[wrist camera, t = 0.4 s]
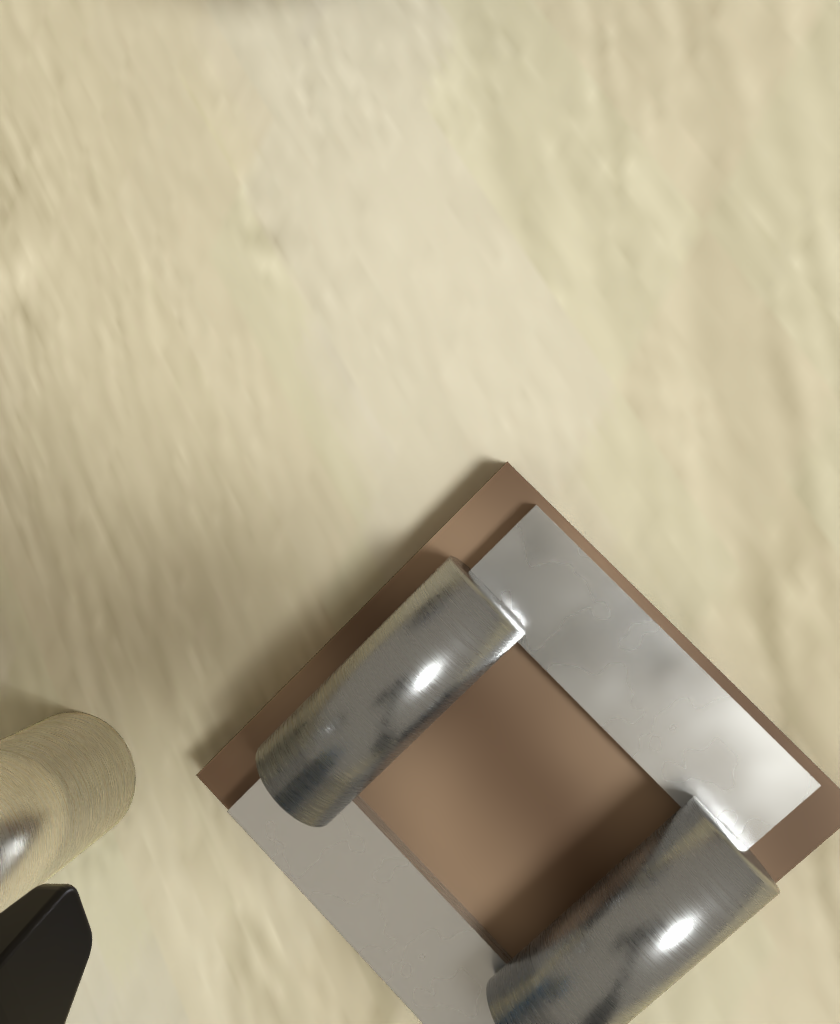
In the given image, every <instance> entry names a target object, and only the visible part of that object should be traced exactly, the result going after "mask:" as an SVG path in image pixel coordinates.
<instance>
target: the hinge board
mask: <svg viewBox="0 0 840 1024" xmlns="http://www.w3.org/2000/svg"><path fill="white" fill-rule="evenodd" d="M535 505H537V506H538V507H539V508H540V509H541V510H542V511H543V512H544V513H545V514H546V515H547V516H548V517H549V518H550V519H551V520H552V521H553V522H554V523H555V524H557V525H558V526H559V527H560V528H561V529H562V530H563V531H564V532H565V533H566V534H567V535H568V536H569V537H570V538H571V539H572V540H573V541H574V542H575V543H576V544H577V545H578V546H579V547H580V548H581V549H582V550H583V551H584V552H585V553H586V554H587V555H588V556H589V557H590V558H591V559H592V560H593V561H594V562H595V563H596V564H597V565H598V566H599V567H600V568H601V569H602V570H603V571H604V572H605V573H606V574H607V575H608V576H609V577H610V578H611V579H612V580H613V581H614V582H615V583H616V584H617V585H618V586H619V587H620V588H621V589H622V590H623V591H624V592H625V593H626V594H628V595H629V596H630V597H631V598H632V599H633V600H634V601H635V602H636V603H637V604H638V605H639V606H640V607H641V608H642V609H643V610H644V611H645V612H646V613H647V614H648V615H649V616H650V617H651V618H652V619H653V620H654V621H655V622H656V623H657V624H658V625H659V626H660V627H661V628H662V629H663V630H664V631H665V632H666V633H667V634H668V635H669V636H670V637H671V638H672V639H673V640H674V641H675V642H676V643H677V644H678V645H679V646H680V647H681V648H682V649H683V650H684V651H685V652H686V653H687V654H688V655H689V656H690V657H691V658H692V659H693V660H694V661H695V662H696V663H697V664H698V665H700V666H701V667H702V668H703V669H704V670H705V671H706V672H707V673H708V674H709V675H710V676H711V677H712V678H713V679H714V680H715V681H716V682H717V683H718V684H719V685H720V686H721V687H722V688H723V689H724V690H725V691H726V692H727V693H728V694H729V695H730V696H731V697H732V698H733V699H734V700H735V701H736V702H737V703H738V704H739V705H740V706H741V707H742V708H743V709H744V710H745V711H746V712H747V713H748V714H749V715H750V716H751V717H752V718H753V719H754V720H755V721H756V722H757V723H758V724H759V725H760V726H761V727H762V728H763V729H764V730H765V731H766V732H767V733H768V734H769V735H771V736H772V737H773V738H774V739H775V740H776V741H777V742H778V743H779V744H780V745H781V746H782V747H783V748H784V749H785V750H786V751H787V752H788V753H789V754H790V755H791V756H792V757H793V758H794V759H795V760H796V761H797V762H798V763H799V764H800V765H801V766H802V767H803V768H804V769H805V770H806V771H807V772H808V773H809V774H810V775H811V776H812V777H813V778H814V779H815V780H816V781H817V782H818V783H819V784H820V785H821V786H820V787H819V788H818V789H817V790H816V791H814V792H813V793H812V794H811V795H810V796H809V797H808V798H806V799H805V800H804V801H803V802H802V803H801V804H799V805H798V806H797V807H796V808H795V809H794V810H793V811H791V812H790V813H789V814H788V815H787V816H786V817H785V818H783V819H782V820H781V821H780V822H779V823H778V824H777V825H775V826H774V827H773V828H772V829H771V830H770V831H769V832H767V833H766V834H765V835H764V836H763V837H762V838H761V839H759V840H758V841H757V842H756V843H755V844H754V845H752V846H751V847H750V848H749V849H750V851H751V852H752V853H753V854H754V855H755V857H756V858H757V859H758V860H759V861H760V863H761V864H762V865H763V866H764V868H765V869H766V870H767V872H768V873H769V874H770V876H771V877H772V879H773V880H774V882H775V883H776V882H777V881H779V880H780V879H781V878H782V877H783V876H784V875H786V874H787V873H788V872H789V871H790V870H791V869H793V868H794V867H795V866H796V865H797V864H798V863H800V862H801V861H802V860H803V859H804V858H805V857H807V856H808V855H809V854H810V853H811V852H812V851H814V850H815V849H816V848H817V847H818V846H819V845H821V844H822V843H823V842H824V841H825V840H826V839H827V838H829V837H830V836H831V835H832V834H833V833H834V832H836V831H837V830H838V829H839V828H840V789H839V788H838V787H837V786H836V785H835V784H834V783H833V782H832V781H831V780H830V779H829V778H828V777H827V776H826V775H825V774H824V773H823V772H822V771H821V770H820V769H819V768H818V767H817V766H816V765H815V764H814V763H813V762H812V761H811V760H810V759H809V758H808V757H807V756H806V755H805V754H804V753H803V752H802V751H801V750H800V749H799V748H798V747H797V746H796V745H795V744H794V743H793V742H792V741H791V740H790V739H789V738H788V737H787V736H786V735H785V734H784V733H783V732H782V731H781V730H779V729H778V728H777V727H776V726H775V725H774V724H773V723H772V722H771V721H770V720H769V719H768V718H767V717H766V716H765V715H764V714H763V713H762V712H761V711H760V710H759V709H758V708H757V707H756V706H755V705H754V704H753V703H752V702H751V701H750V700H749V699H748V698H747V697H746V696H745V695H744V694H743V693H742V692H741V691H740V690H739V689H738V688H737V687H736V686H735V685H734V684H733V683H732V682H731V681H730V680H729V679H728V678H727V677H726V676H725V675H724V674H723V673H722V672H721V671H720V670H719V669H717V668H716V667H715V666H714V665H713V664H712V663H711V662H710V661H709V660H708V659H707V658H706V657H705V656H704V655H703V654H702V653H701V652H700V651H699V650H698V649H697V648H696V647H695V646H694V645H693V644H692V643H691V642H690V641H689V640H688V639H687V638H686V637H685V636H684V635H683V634H682V633H681V632H680V631H679V630H678V629H677V628H676V627H675V626H674V625H673V624H672V623H671V622H670V621H669V620H668V619H667V618H666V617H665V616H664V615H663V614H662V613H661V612H660V611H659V610H658V609H657V608H655V607H654V606H653V605H652V604H651V603H650V602H649V601H648V600H647V599H646V598H645V597H644V596H643V595H642V594H641V593H640V592H639V591H638V590H637V589H636V588H635V587H634V586H633V585H632V584H631V583H630V582H629V581H628V580H627V579H626V578H625V577H624V576H623V575H622V574H621V573H620V572H619V571H618V570H617V569H616V568H615V567H614V566H613V565H612V564H611V563H610V562H609V561H608V560H607V559H606V558H605V557H604V556H603V555H602V554H601V553H600V552H599V551H598V550H597V549H596V548H595V547H593V546H592V545H591V544H590V543H589V542H588V541H587V540H586V539H585V538H584V537H583V536H582V535H581V534H580V533H579V532H578V531H577V530H576V529H575V528H574V527H573V526H572V525H571V524H570V523H569V522H568V521H567V520H566V519H565V518H564V517H563V516H562V515H561V514H560V513H559V512H558V511H557V510H556V509H555V508H554V507H553V506H552V505H551V504H550V503H549V502H548V501H547V500H546V499H545V498H544V497H543V496H542V495H541V494H540V493H539V492H538V491H537V490H536V489H535V488H534V487H533V486H531V485H530V484H529V483H528V482H527V481H526V480H525V479H524V478H523V477H522V476H521V475H520V474H519V473H518V472H517V471H516V470H515V469H514V468H513V467H512V466H511V465H510V464H509V463H508V462H506V463H505V464H504V465H503V466H502V468H501V469H500V470H499V471H498V472H497V473H496V474H495V475H494V476H493V477H492V478H491V479H490V480H489V481H488V482H487V483H486V484H485V485H484V486H483V487H482V488H481V489H480V490H479V491H478V492H477V493H476V494H475V495H474V496H473V497H472V498H471V499H470V500H469V501H468V502H467V503H466V504H465V505H464V506H463V507H462V508H461V509H460V510H459V511H458V512H457V513H456V514H455V515H454V516H453V517H452V518H451V519H450V520H449V521H448V522H447V523H446V524H445V525H444V526H443V527H442V528H441V529H440V530H439V531H438V532H437V533H436V534H435V535H434V536H433V537H432V538H431V539H430V540H429V541H428V542H427V543H426V544H425V545H424V546H423V547H422V548H421V549H420V550H419V551H418V552H417V553H416V554H415V555H414V556H413V557H412V558H411V559H410V560H409V561H408V562H407V563H406V564H405V565H404V566H403V567H402V568H401V569H400V570H399V571H398V572H397V573H396V574H395V575H394V576H393V577H392V578H391V579H390V580H389V581H388V582H387V583H386V584H385V585H384V586H383V587H382V588H381V589H380V590H379V591H378V592H377V593H376V594H375V595H374V596H373V597H372V598H371V599H370V601H369V602H368V603H367V604H366V605H365V606H364V607H363V608H362V609H361V610H360V611H359V612H358V613H357V614H356V615H355V616H354V617H353V618H352V619H351V620H350V621H349V622H348V623H347V624H346V625H345V626H344V627H343V628H342V629H341V630H340V631H339V632H338V633H337V634H336V635H335V636H334V637H333V638H332V639H331V640H330V641H329V642H328V643H327V644H326V645H325V646H324V647H323V648H322V649H321V650H320V651H319V652H318V653H317V654H316V655H315V656H314V657H313V658H312V659H311V660H310V661H309V662H308V663H307V664H306V665H305V666H304V667H303V668H302V669H301V670H300V671H299V672H298V673H297V674H296V675H295V676H294V677H293V678H292V679H291V680H290V681H289V682H288V683H287V684H286V685H285V686H284V687H283V688H282V689H281V690H280V691H279V692H278V693H277V694H276V695H275V696H274V697H273V698H272V699H271V700H270V701H269V702H268V703H267V704H266V705H265V706H264V707H263V708H262V709H261V710H260V711H259V712H258V713H257V714H256V715H255V716H254V717H253V718H252V719H251V720H250V721H249V722H248V723H247V724H246V725H245V726H244V727H243V728H242V729H241V730H240V731H239V732H238V734H237V735H236V736H235V737H234V738H233V739H232V740H231V741H230V742H229V743H228V744H227V745H226V746H225V747H224V748H223V749H222V750H221V751H220V752H219V753H218V754H217V755H216V756H215V757H214V758H213V759H212V760H211V761H210V762H209V763H208V764H207V765H206V766H205V767H204V768H203V769H202V770H201V771H200V772H199V773H198V774H197V777H198V778H199V779H200V780H201V781H202V782H203V783H204V784H205V785H206V786H207V787H208V788H209V790H210V791H211V792H212V793H213V794H214V795H215V796H216V797H217V798H218V799H219V800H220V801H221V802H222V804H223V805H224V806H225V807H226V808H227V809H228V810H229V809H230V808H231V807H232V806H233V805H234V804H235V803H236V802H237V801H238V800H239V799H240V798H241V797H242V796H243V795H244V794H245V793H246V792H247V791H248V790H249V789H250V788H251V787H252V786H253V785H254V784H255V783H256V782H257V781H258V780H259V779H260V776H259V774H258V771H257V767H256V761H255V755H256V751H257V749H258V748H259V746H260V745H261V744H262V743H263V742H264V741H265V740H266V739H267V738H268V737H269V736H270V735H271V734H272V733H273V732H274V731H275V730H276V729H277V728H278V727H279V726H280V725H281V724H282V723H283V722H284V721H285V720H286V719H287V718H288V717H289V716H290V715H291V714H292V713H293V712H294V711H295V710H296V709H297V708H298V707H299V706H300V705H301V704H302V703H303V702H304V701H305V700H306V699H307V698H308V697H309V696H310V695H311V694H312V693H313V692H314V691H315V690H316V689H317V688H318V687H319V686H320V685H321V684H322V683H323V682H324V681H325V680H326V679H327V678H328V677H329V676H330V675H331V674H332V673H333V672H334V671H335V670H336V669H337V668H338V667H339V666H340V665H341V664H342V663H343V662H344V661H345V660H346V659H347V658H348V657H349V656H350V655H351V654H352V653H353V652H354V651H355V650H356V649H357V648H358V647H359V646H360V645H361V644H362V643H363V642H364V641H365V640H366V639H367V638H368V637H369V636H370V635H371V634H372V633H373V632H374V631H375V630H376V629H377V628H378V627H379V626H380V625H381V624H382V623H383V622H384V621H385V620H386V619H387V618H388V617H389V616H390V615H391V614H392V613H393V612H394V611H395V610H396V609H397V608H398V607H399V606H400V605H401V604H402V603H403V602H404V601H405V600H406V599H407V598H408V597H409V596H410V595H411V594H412V593H413V592H414V591H415V590H416V589H417V588H418V587H419V586H420V585H421V584H422V583H423V582H424V581H425V580H426V579H427V578H428V577H429V576H430V575H431V574H432V573H433V572H434V571H435V570H436V569H437V568H438V567H439V566H440V565H441V564H442V563H443V562H444V561H445V560H446V559H447V558H448V557H449V556H454V557H456V558H458V559H459V560H461V561H462V562H463V563H465V564H466V565H467V566H468V567H470V568H471V569H472V568H473V567H474V566H475V565H476V564H477V563H478V562H479V561H480V560H481V559H482V558H483V557H484V556H485V555H486V554H487V553H488V552H489V551H490V550H491V549H492V548H493V547H494V546H495V545H496V544H497V543H498V542H499V541H500V540H501V539H502V538H503V537H504V536H505V535H506V534H507V533H508V532H509V531H510V530H511V529H512V528H513V527H514V526H515V525H516V524H517V523H518V522H519V521H520V520H521V519H522V518H523V517H524V516H525V515H526V514H527V513H528V512H529V511H530V510H531V509H532V508H533V507H534V506H535ZM359 796H360V797H361V798H362V799H363V800H364V801H365V802H366V803H367V804H368V805H369V806H370V808H371V809H372V810H373V811H374V812H375V813H376V814H377V815H378V816H379V817H380V818H381V819H382V820H383V821H384V822H385V823H386V824H387V826H388V827H389V828H390V829H391V830H392V831H393V832H394V833H395V834H396V835H397V836H398V837H399V838H400V839H401V840H402V841H403V842H404V843H405V845H406V846H407V847H408V848H409V849H410V850H411V851H412V852H413V853H414V854H415V855H416V856H417V857H418V858H419V859H420V860H421V861H422V863H423V864H424V865H425V866H426V867H427V868H428V869H429V870H430V871H431V872H432V873H433V874H434V875H435V876H436V877H437V878H438V879H439V881H440V882H441V883H442V884H443V885H444V886H445V887H446V888H447V889H448V890H449V891H450V892H451V893H452V894H453V895H454V896H455V897H456V898H457V900H458V901H459V902H460V903H461V904H462V905H463V906H464V907H465V908H466V909H467V910H468V911H469V912H470V913H471V914H472V915H473V916H474V918H475V919H476V920H477V921H478V922H479V923H480V924H481V925H482V926H483V927H484V928H485V929H486V930H487V931H488V932H489V933H490V934H491V936H492V937H493V938H494V939H495V940H496V941H497V942H498V943H499V944H500V945H501V946H502V947H503V948H504V949H505V950H506V951H507V952H508V954H509V955H510V956H511V957H512V958H513V957H514V956H516V955H517V954H518V953H519V952H520V951H521V950H522V949H523V948H525V947H526V946H527V945H528V944H529V943H530V942H531V941H532V940H534V939H535V938H536V937H537V936H538V935H539V934H540V933H541V932H542V931H544V930H545V929H546V928H547V927H548V926H549V925H550V924H551V923H553V922H554V921H555V920H556V919H557V918H558V917H559V916H560V915H561V914H563V913H564V912H565V911H566V910H567V909H568V908H569V907H570V906H572V905H573V904H574V903H575V902H576V901H577V900H578V899H579V898H580V897H582V896H583V895H584V894H585V893H586V892H587V891H588V890H589V889H591V888H592V887H593V886H594V885H595V884H596V883H597V882H598V881H599V880H601V879H602V878H603V877H604V876H605V875H606V874H607V873H608V872H610V871H611V870H612V869H613V868H614V867H615V866H616V865H617V864H619V863H620V862H621V861H622V860H623V859H624V858H625V857H626V856H627V855H629V854H630V853H631V852H632V851H633V850H634V849H635V848H636V847H638V846H639V845H640V844H641V843H642V842H643V841H644V840H645V839H646V838H648V837H649V836H650V835H651V834H652V833H653V832H654V831H655V830H657V829H658V828H659V827H660V826H661V825H662V824H663V823H664V822H665V821H667V820H668V819H669V818H670V817H671V816H672V815H673V814H674V813H676V812H677V811H678V810H679V809H680V808H681V806H680V805H679V804H678V803H677V802H676V801H675V800H674V799H673V798H672V797H671V796H670V795H669V794H668V793H667V792H666V791H665V790H664V789H663V788H662V787H661V786H660V785H659V784H658V783H657V782H656V781H655V780H654V779H653V778H652V777H651V776H650V775H649V774H648V773H647V772H646V771H645V770H644V769H643V768H642V767H641V766H640V765H639V764H638V763H637V762H636V761H635V760H634V759H633V758H632V757H631V756H630V755H629V754H628V753H627V752H626V751H625V750H624V749H623V748H622V747H621V746H620V745H619V744H618V743H617V742H616V741H615V740H614V739H613V738H612V737H611V736H610V735H609V734H608V733H607V732H606V731H605V730H604V729H603V728H602V727H601V726H600V725H599V724H598V723H597V722H596V721H595V720H594V719H593V718H592V717H591V716H590V715H589V714H588V713H587V712H586V711H585V710H584V709H583V708H582V707H581V706H580V705H579V704H578V703H577V701H576V700H575V699H574V698H573V697H572V696H571V695H570V694H569V693H568V692H567V691H566V690H565V689H564V688H563V687H562V686H561V685H560V684H559V683H558V682H557V681H556V680H555V679H554V678H553V677H552V676H551V675H550V674H549V673H548V672H547V671H546V670H545V669H544V668H543V667H542V666H541V665H540V664H539V663H538V662H537V661H536V660H535V659H534V658H533V657H532V656H531V655H530V654H529V653H528V652H527V651H526V650H525V649H524V648H523V647H522V646H521V645H520V644H519V643H518V642H516V643H515V644H514V645H513V646H512V647H511V648H510V649H509V650H508V651H507V652H506V653H505V654H504V655H503V656H502V657H501V658H500V659H499V660H498V661H497V662H496V663H495V664H494V665H493V666H491V667H490V668H489V669H488V670H487V671H486V672H485V673H484V674H483V675H482V676H481V677H480V678H479V679H478V680H477V681H476V682H475V683H474V684H473V685H472V686H471V687H470V688H469V689H468V690H467V691H466V692H465V693H463V694H462V695H461V696H460V697H459V698H458V699H457V700H456V701H455V702H454V703H453V704H452V705H451V706H450V707H449V708H448V709H447V710H446V711H445V712H444V713H443V714H442V715H441V716H440V717H439V718H438V719H437V720H435V721H434V722H433V723H432V724H431V725H430V726H429V727H428V728H427V729H426V730H425V731H424V732H423V733H422V734H421V735H420V736H419V737H418V738H417V739H416V740H415V741H414V742H413V743H412V744H411V745H410V746H409V747H408V748H406V749H405V750H404V751H403V752H402V753H401V754H400V755H399V756H398V757H397V758H396V759H395V760H394V761H393V762H392V763H391V764H390V765H389V766H388V767H387V768H386V769H385V770H384V771H383V772H382V773H381V774H380V775H378V776H377V777H376V778H375V779H374V780H373V781H372V782H371V783H370V784H369V785H368V786H367V787H366V788H365V789H364V790H363V791H362V792H361V793H360V794H359Z"/></svg>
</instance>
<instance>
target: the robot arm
mask: <svg viewBox="0 0 840 1024" xmlns="http://www.w3.org/2000/svg"><path fill="white" fill-rule="evenodd" d="M91 947H92V932H91V928H90V925H89V923H88V920H87V917H86V914H85V911H84V908H83V905H82V902H81V900H80V897H79V894H78V892H77V890H76V889H75V888H74V887H73V886H72V885H69V884H42V885H39V886H37V887H35V888H33V889H32V890H30V891H29V892H28V893H26V894H25V895H24V896H22V897H21V898H20V899H18V900H17V901H16V902H14V903H13V904H12V905H10V906H9V907H8V908H6V909H5V910H4V911H2V912H1V913H0V1024H65V1022H66V1019H67V1016H68V1014H69V1011H70V1008H71V1005H72V1003H73V1000H74V997H75V994H76V991H77V989H78V986H79V983H80V980H81V978H82V975H83V972H84V969H85V967H86V964H87V961H88V958H89V955H90V952H91Z"/></svg>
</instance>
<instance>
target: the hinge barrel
mask: <svg viewBox="0 0 840 1024" xmlns="http://www.w3.org/2000/svg"><path fill="white" fill-rule="evenodd" d="M135 781H136V777H135V768H134V763H133V760H132V757H131V754H130V751H129V749H128V747H127V745H126V744H125V742H124V741H123V739H122V738H121V737H120V735H119V734H118V733H117V732H116V731H115V730H114V729H113V728H112V727H111V726H110V725H108V724H107V723H106V722H104V721H102V720H101V719H99V718H97V717H94V716H92V715H89V714H85V713H79V712H66V713H60V714H57V715H54V716H51V717H49V718H47V719H45V720H43V721H41V722H38V723H36V724H34V725H32V726H30V727H28V728H26V729H24V730H22V731H19V732H17V733H15V734H13V735H11V736H9V737H7V738H5V739H2V740H0V913H1V912H2V911H4V910H5V909H6V908H8V907H9V906H10V905H12V904H13V903H14V902H16V901H17V900H18V899H20V898H21V897H22V896H24V895H25V894H26V893H28V892H29V891H30V890H32V889H33V888H35V887H37V886H39V885H42V884H43V883H45V882H46V881H47V880H48V879H50V878H51V877H52V876H53V875H55V874H56V873H57V872H58V871H60V870H61V869H62V868H63V867H65V866H66V865H67V864H68V863H70V862H71V861H72V860H73V859H75V858H76V857H77V856H78V855H80V854H81V853H82V852H83V851H84V850H86V849H87V848H88V847H89V846H91V845H92V844H93V843H94V842H96V841H97V840H98V839H99V838H101V837H102V836H103V835H104V834H106V833H107V832H108V831H109V830H111V829H112V828H113V827H114V826H115V825H116V824H118V823H119V822H120V820H121V819H122V818H123V817H124V815H125V814H126V812H127V811H128V809H129V807H130V805H131V802H132V799H133V796H134V791H135Z"/></svg>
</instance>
